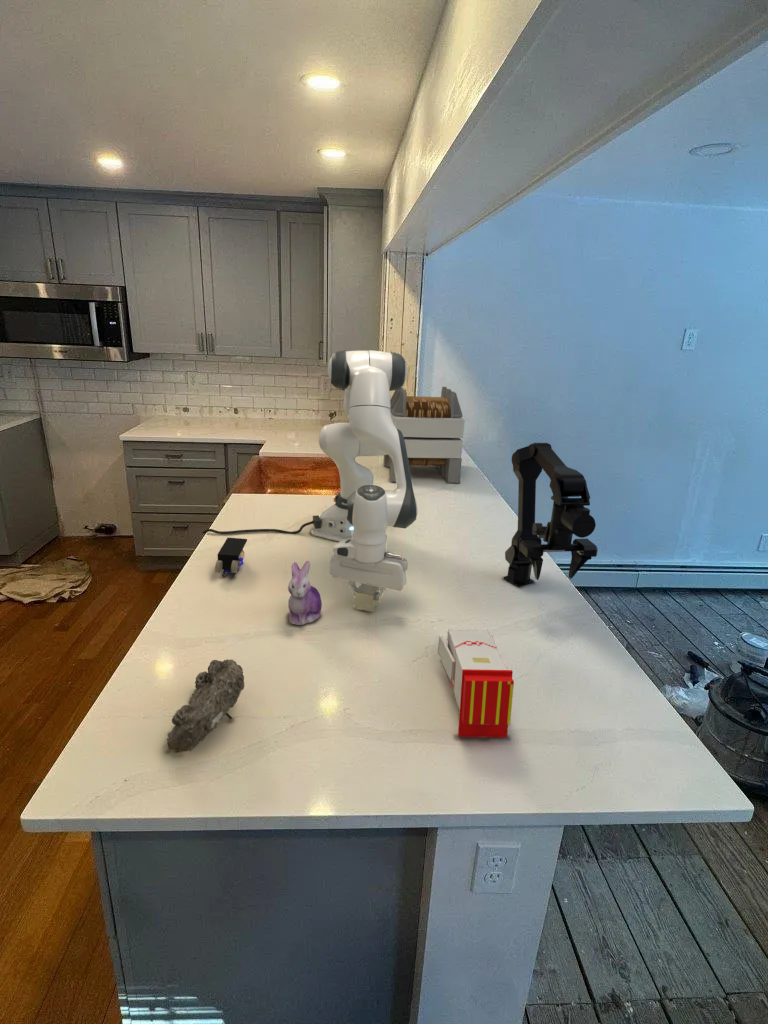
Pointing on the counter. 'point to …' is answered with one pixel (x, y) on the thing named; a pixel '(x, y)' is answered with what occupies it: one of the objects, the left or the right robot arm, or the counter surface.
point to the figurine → (303, 597)
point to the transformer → (429, 431)
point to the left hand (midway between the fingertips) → (367, 597)
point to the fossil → (206, 705)
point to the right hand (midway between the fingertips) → (553, 578)
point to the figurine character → (230, 556)
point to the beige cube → (366, 597)
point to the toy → (478, 682)
